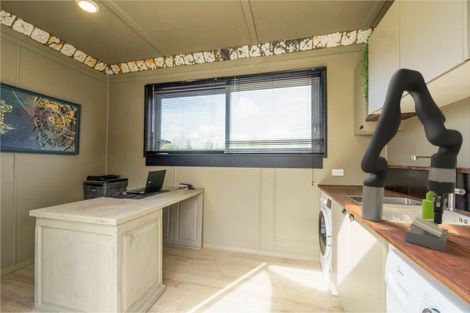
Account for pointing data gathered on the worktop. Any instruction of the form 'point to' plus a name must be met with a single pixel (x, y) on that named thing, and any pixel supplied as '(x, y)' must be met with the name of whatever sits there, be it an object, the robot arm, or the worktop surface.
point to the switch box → (426, 238)
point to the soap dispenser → (428, 207)
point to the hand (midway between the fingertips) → (437, 223)
